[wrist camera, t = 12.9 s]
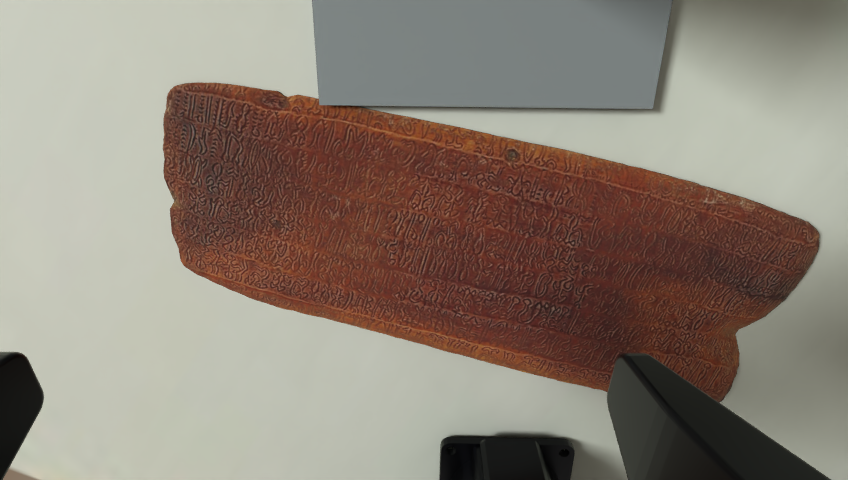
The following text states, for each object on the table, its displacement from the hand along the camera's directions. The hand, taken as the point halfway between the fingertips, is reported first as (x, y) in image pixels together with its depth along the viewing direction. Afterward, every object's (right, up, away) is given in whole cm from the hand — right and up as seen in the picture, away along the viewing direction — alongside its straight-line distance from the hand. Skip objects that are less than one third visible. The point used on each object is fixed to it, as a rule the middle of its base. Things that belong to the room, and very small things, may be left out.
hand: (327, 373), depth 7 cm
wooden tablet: (+4, +2, +13) cm, 14 cm away
